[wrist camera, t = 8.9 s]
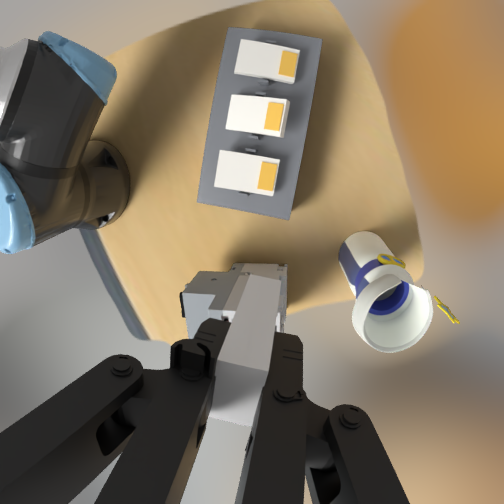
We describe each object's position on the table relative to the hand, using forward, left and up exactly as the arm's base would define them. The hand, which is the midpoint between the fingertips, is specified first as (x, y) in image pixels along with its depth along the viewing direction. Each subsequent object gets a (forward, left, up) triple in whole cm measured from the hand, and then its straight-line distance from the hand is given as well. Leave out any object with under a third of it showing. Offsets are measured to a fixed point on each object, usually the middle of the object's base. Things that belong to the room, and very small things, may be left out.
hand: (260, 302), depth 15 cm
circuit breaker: (-4, -14, -31) cm, 34 cm away
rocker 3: (-5, +4, -23) cm, 24 cm away
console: (-5, +11, -30) cm, 33 cm away
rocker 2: (-5, +11, -23) cm, 26 cm away
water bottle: (+13, -5, -31) cm, 34 cm away
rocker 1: (-5, +18, -23) cm, 29 cm away
